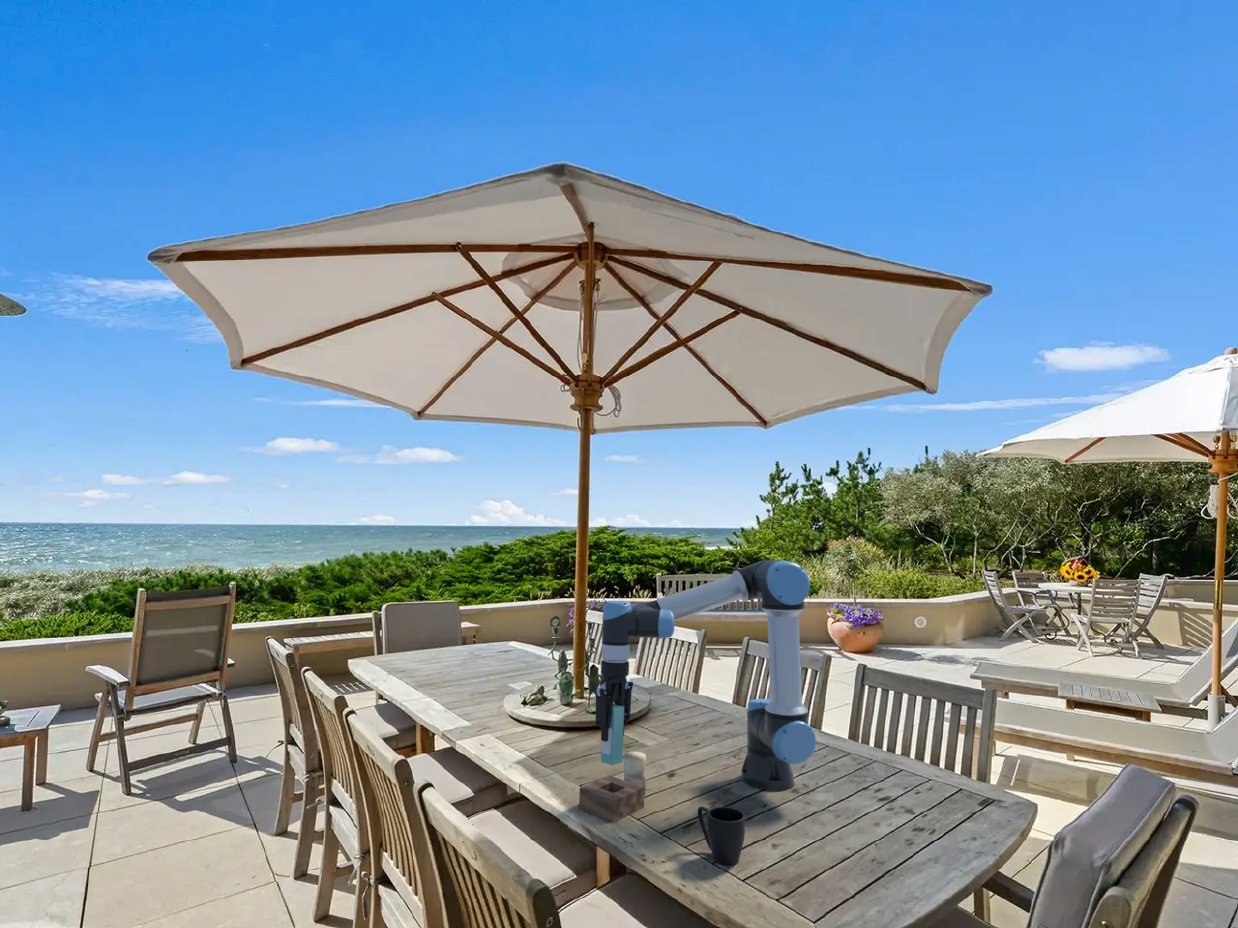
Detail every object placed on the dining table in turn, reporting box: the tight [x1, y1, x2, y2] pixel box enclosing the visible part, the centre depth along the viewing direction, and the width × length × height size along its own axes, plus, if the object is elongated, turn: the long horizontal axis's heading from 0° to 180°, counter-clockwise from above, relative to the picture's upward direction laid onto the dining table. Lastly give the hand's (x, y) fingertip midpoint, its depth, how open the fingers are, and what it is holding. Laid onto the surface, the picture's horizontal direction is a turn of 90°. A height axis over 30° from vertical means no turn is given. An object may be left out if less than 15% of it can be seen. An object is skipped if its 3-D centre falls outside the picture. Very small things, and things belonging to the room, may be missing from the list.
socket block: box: [578, 775, 645, 823], centre depth 167 cm, size 12×12×5 cm
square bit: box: [600, 703, 625, 766], centre depth 168 cm, size 4×4×14 cm
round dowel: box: [623, 750, 647, 796], centre depth 177 cm, size 6×6×10 cm
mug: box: [697, 806, 746, 867], centre depth 142 cm, size 8×12×10 cm
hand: (612, 751), depth 168 cm, fingers closed on square bit, 4 cm apart
